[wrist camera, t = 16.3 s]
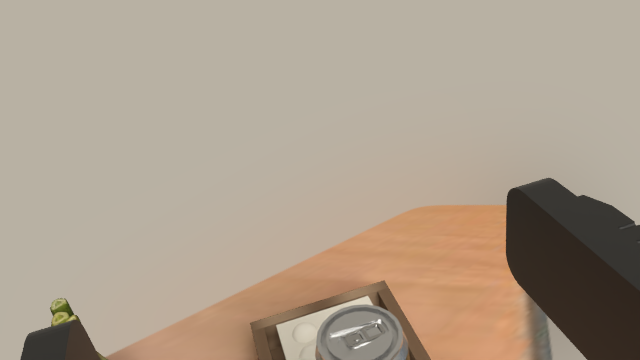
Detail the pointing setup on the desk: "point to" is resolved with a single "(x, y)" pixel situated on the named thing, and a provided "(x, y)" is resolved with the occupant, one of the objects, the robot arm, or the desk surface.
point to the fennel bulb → (64, 315)
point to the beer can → (361, 335)
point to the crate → (377, 293)
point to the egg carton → (307, 331)
